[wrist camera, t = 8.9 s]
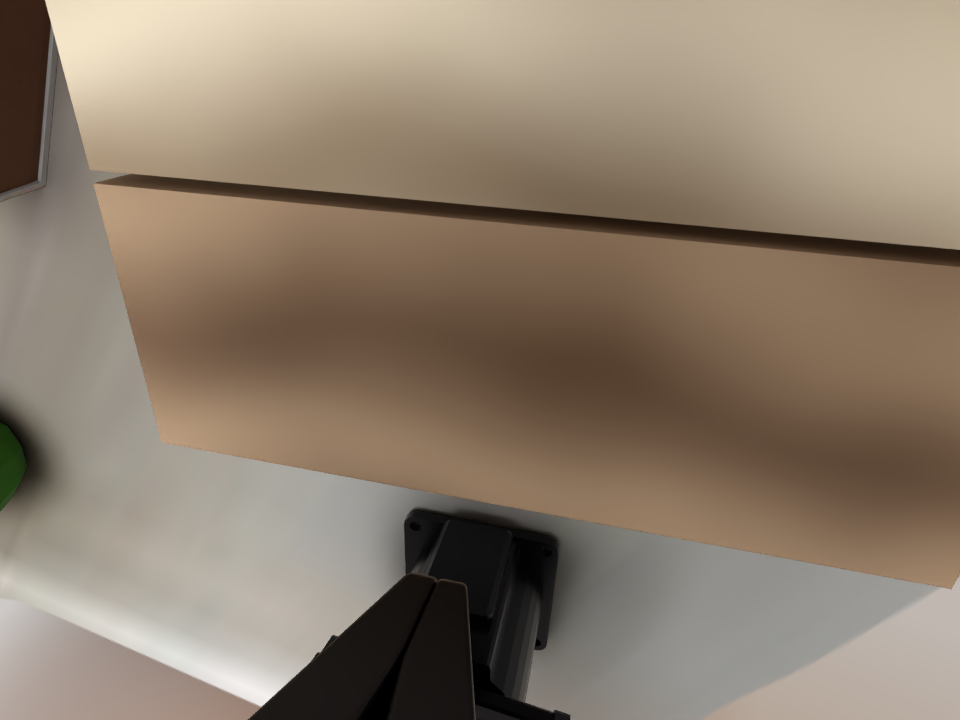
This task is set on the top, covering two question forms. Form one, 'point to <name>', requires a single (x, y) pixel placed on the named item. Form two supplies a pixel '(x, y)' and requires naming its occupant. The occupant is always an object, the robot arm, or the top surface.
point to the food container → (25, 95)
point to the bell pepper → (9, 465)
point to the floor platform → (561, 363)
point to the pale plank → (542, 105)
